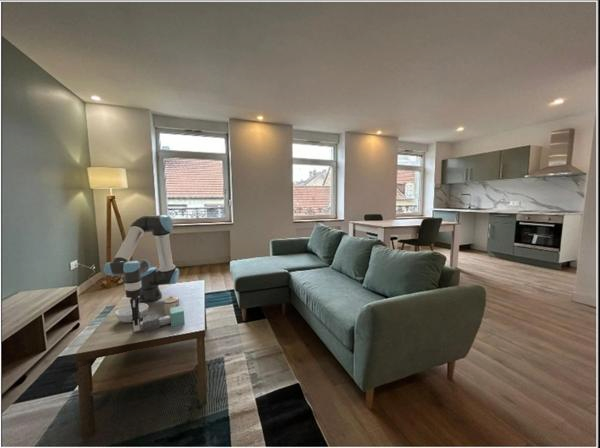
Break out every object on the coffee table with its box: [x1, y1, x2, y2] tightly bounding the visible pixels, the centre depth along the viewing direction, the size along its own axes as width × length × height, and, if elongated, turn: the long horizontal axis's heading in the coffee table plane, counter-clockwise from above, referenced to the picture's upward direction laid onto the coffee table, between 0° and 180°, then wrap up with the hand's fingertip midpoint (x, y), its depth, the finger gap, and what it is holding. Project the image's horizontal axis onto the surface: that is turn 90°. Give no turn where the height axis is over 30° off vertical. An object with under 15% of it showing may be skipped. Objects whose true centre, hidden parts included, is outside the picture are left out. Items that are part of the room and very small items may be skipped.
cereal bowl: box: [115, 302, 149, 323], centre depth 151 cm, size 17×17×7 cm
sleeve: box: [142, 313, 161, 334], centre depth 140 cm, size 7×8×6 cm
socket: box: [170, 305, 185, 328], centre depth 147 cm, size 9×7×8 cm
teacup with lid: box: [163, 294, 180, 316], centre depth 161 cm, size 12×9×12 cm
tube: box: [132, 311, 171, 333], centre depth 141 cm, size 4×23×10 cm, turn 121°
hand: (137, 328), depth 137 cm, fingers closed on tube, 4 cm apart
